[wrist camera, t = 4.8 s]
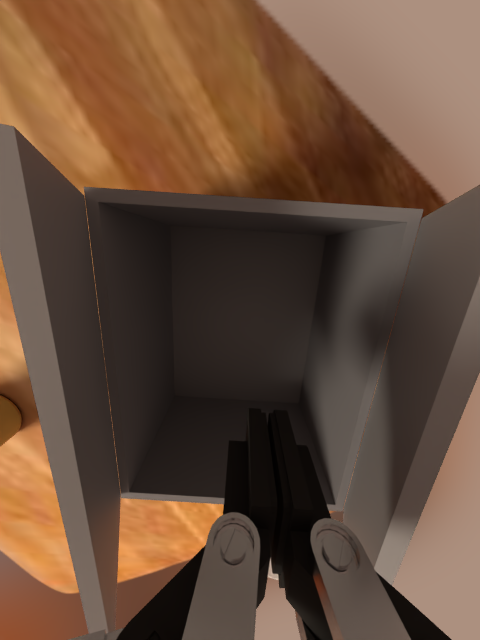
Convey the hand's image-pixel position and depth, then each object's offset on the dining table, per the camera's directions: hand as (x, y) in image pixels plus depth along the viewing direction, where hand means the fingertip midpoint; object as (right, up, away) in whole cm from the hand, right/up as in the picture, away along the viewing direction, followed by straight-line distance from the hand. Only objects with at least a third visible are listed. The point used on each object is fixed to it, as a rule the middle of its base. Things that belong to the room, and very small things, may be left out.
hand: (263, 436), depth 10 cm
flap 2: (+5, 0, 0) cm, 5 cm away
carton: (-1, +5, +15) cm, 16 cm away
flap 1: (-7, +1, 0) cm, 7 cm away
